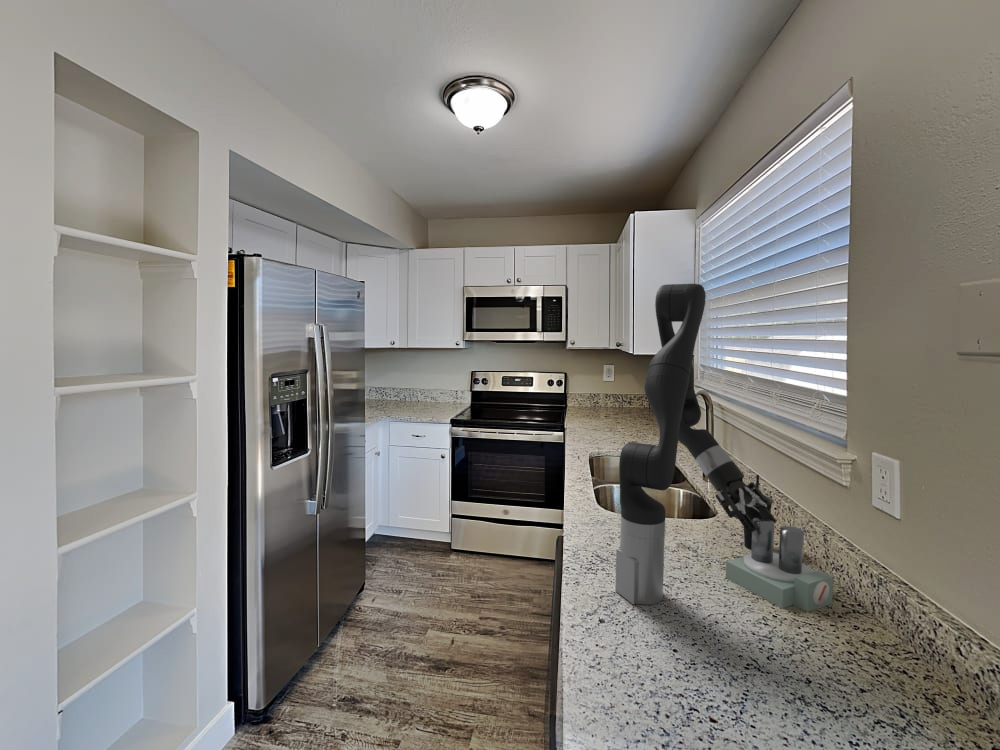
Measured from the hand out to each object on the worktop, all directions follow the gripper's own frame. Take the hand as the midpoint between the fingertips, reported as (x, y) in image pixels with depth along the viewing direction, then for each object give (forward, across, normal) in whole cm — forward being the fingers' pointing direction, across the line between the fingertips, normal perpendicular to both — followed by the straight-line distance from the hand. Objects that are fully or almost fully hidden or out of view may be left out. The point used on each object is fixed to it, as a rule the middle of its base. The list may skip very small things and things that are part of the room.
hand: (763, 527), depth 108 cm
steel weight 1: (+5, 0, +5) cm, 7 cm away
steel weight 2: (+10, 0, +1) cm, 10 cm away
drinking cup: (+2, +17, +16) cm, 23 cm away
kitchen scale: (+12, 0, +5) cm, 13 cm away
